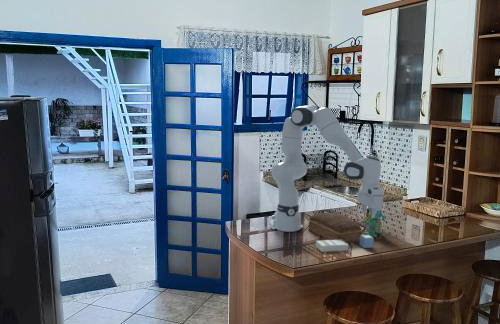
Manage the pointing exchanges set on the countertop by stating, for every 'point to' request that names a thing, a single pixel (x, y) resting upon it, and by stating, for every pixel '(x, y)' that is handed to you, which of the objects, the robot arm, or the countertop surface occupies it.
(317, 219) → the bread
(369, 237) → the light blue cube
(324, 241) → the white flat box
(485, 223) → the countertop surface
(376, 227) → the toy
